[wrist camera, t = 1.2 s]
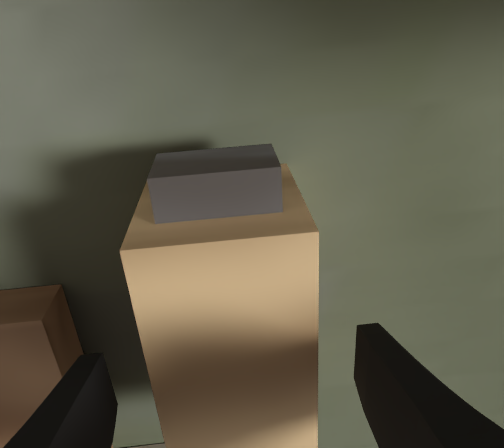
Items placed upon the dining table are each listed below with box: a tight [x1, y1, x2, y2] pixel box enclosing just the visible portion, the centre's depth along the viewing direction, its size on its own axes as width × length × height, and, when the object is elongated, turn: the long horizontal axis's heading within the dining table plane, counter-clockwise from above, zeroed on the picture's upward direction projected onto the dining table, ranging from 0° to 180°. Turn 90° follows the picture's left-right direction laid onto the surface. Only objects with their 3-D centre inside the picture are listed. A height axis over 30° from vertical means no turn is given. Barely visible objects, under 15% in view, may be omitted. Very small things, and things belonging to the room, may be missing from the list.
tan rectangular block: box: [120, 144, 319, 448], centre depth 14 cm, size 10×4×5 cm, turn 4°
